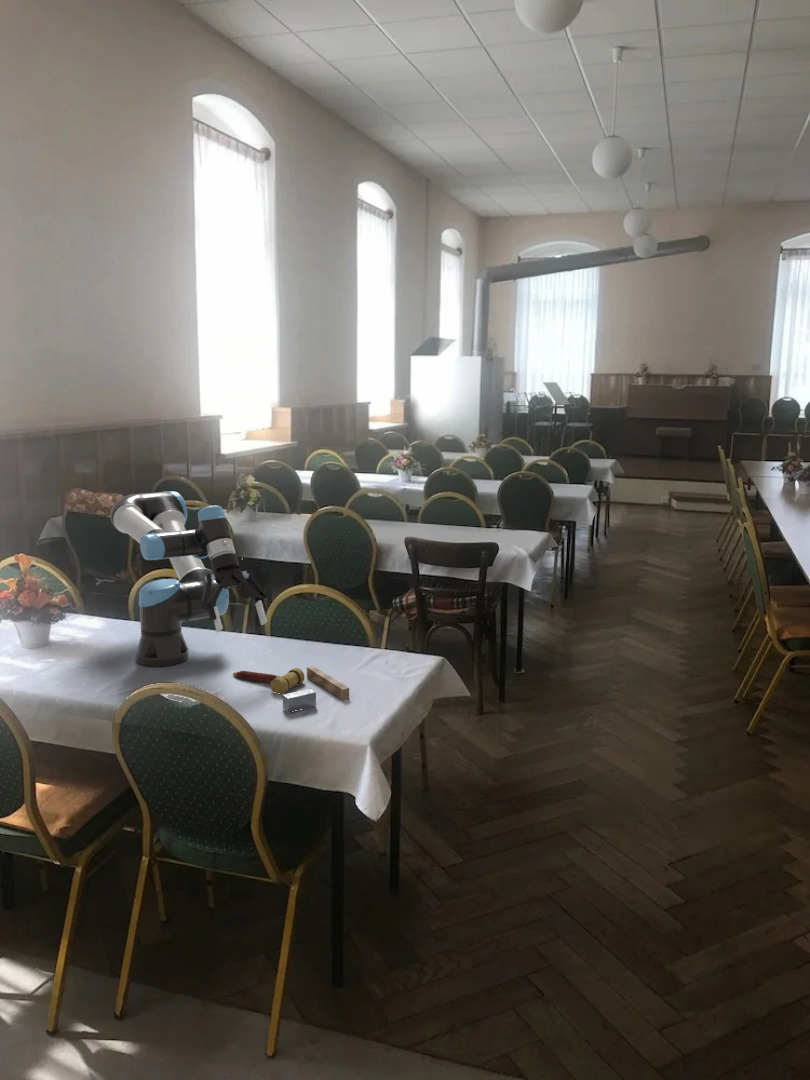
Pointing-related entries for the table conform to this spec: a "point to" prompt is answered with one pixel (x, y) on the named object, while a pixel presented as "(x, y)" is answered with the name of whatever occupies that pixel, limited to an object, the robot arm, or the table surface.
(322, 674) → the walnut fence
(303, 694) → the block
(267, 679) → the gavel
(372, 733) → the table surface
